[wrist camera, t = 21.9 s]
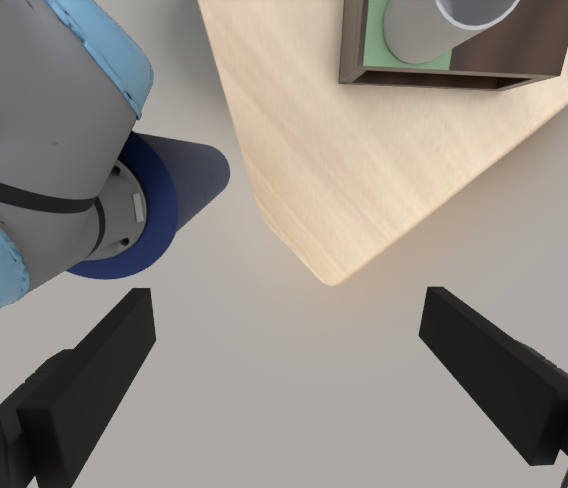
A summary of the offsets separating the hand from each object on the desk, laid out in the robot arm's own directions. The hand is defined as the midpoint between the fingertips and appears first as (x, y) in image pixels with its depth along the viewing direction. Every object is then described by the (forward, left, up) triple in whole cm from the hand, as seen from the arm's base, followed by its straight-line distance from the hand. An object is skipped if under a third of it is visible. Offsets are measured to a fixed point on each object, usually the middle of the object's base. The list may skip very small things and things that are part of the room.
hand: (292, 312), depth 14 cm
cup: (+13, +21, -21) cm, 32 cm away
